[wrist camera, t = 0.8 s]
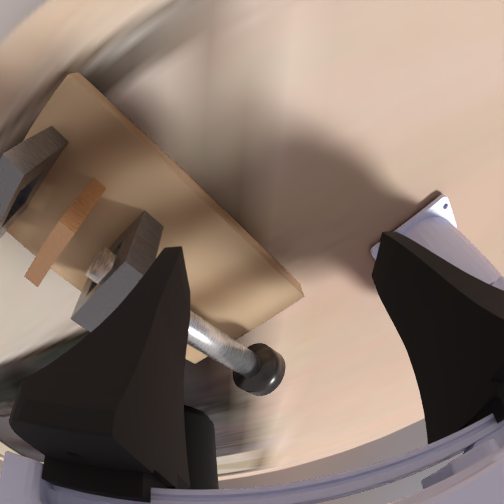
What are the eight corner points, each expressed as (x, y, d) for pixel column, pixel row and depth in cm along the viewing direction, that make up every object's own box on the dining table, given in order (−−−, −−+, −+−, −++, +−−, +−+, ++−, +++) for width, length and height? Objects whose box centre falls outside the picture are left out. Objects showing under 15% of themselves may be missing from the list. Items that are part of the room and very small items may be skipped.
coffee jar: (146, 394, 32) (140, 537, 18) (226, 411, 36) (239, 540, 21) (130, 423, 37) (125, 535, 23) (198, 436, 41) (204, 542, 26)
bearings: (163, 226, 19) (150, 280, 14) (110, 278, 20) (92, 333, 16) (51, 125, 14) (2, 153, 10) (11, 194, 16) (-31, 235, 11)
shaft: (280, 343, 25) (289, 383, 21) (243, 363, 26) (248, 403, 23) (122, 221, 17) (103, 262, 14) (88, 259, 18) (68, 301, 15)
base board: (299, 283, 25) (304, 296, 23) (195, 351, 28) (194, 363, 27) (78, 72, 14) (68, 73, 12) (-3, 203, 17) (-13, 212, 16)
